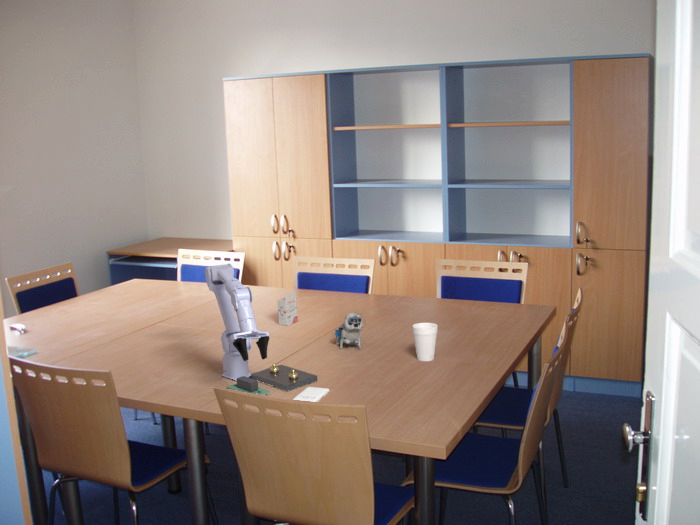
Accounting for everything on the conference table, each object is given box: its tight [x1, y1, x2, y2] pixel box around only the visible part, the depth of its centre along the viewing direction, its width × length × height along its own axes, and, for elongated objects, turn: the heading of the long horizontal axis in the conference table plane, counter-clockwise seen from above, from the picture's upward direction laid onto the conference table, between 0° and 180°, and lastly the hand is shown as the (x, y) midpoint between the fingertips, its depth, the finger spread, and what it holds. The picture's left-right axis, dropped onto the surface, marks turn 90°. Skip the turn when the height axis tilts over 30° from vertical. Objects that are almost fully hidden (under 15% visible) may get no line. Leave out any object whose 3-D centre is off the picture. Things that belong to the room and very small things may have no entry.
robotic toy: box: [334, 311, 366, 350], centre depth 302 cm, size 13×17×15 cm
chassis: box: [250, 363, 318, 392], centre depth 264 cm, size 20×14×5 cm
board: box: [226, 376, 271, 395], centre depth 253 cm, size 15×7×4 cm, turn 45°
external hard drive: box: [292, 386, 330, 403], centre depth 247 cm, size 2×8×12 cm
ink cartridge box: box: [277, 290, 299, 327], centre depth 342 cm, size 9×5×15 cm, turn 147°
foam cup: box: [412, 322, 438, 362], centre depth 282 cm, size 10×9×13 cm
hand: (255, 359), depth 250 cm, fingers open, 7 cm apart
